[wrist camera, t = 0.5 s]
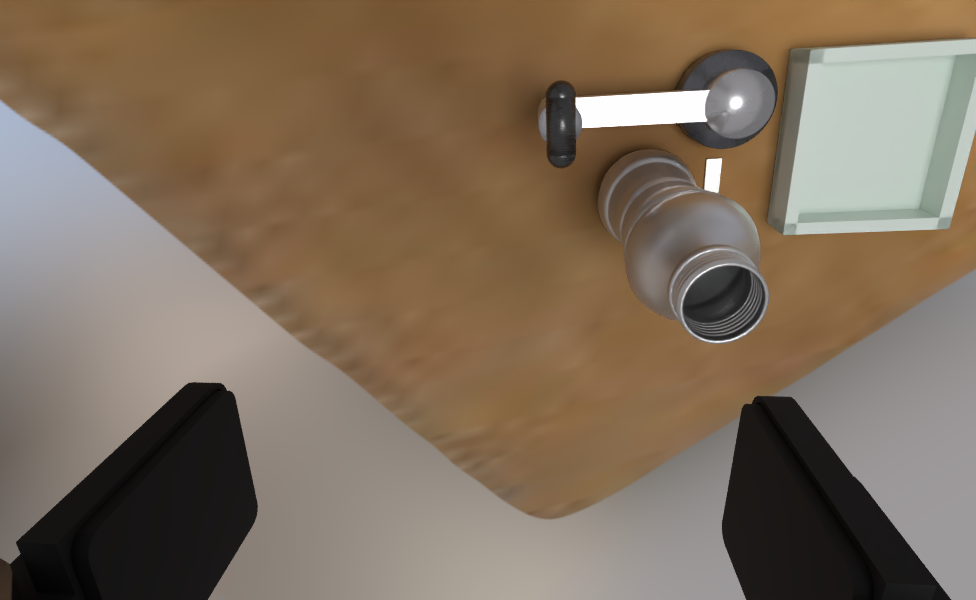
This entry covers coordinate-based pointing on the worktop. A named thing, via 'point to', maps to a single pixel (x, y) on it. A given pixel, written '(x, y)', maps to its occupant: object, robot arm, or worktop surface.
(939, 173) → the tray
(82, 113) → the worktop surface
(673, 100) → the crank
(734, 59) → the crank base
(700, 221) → the metal bottle
